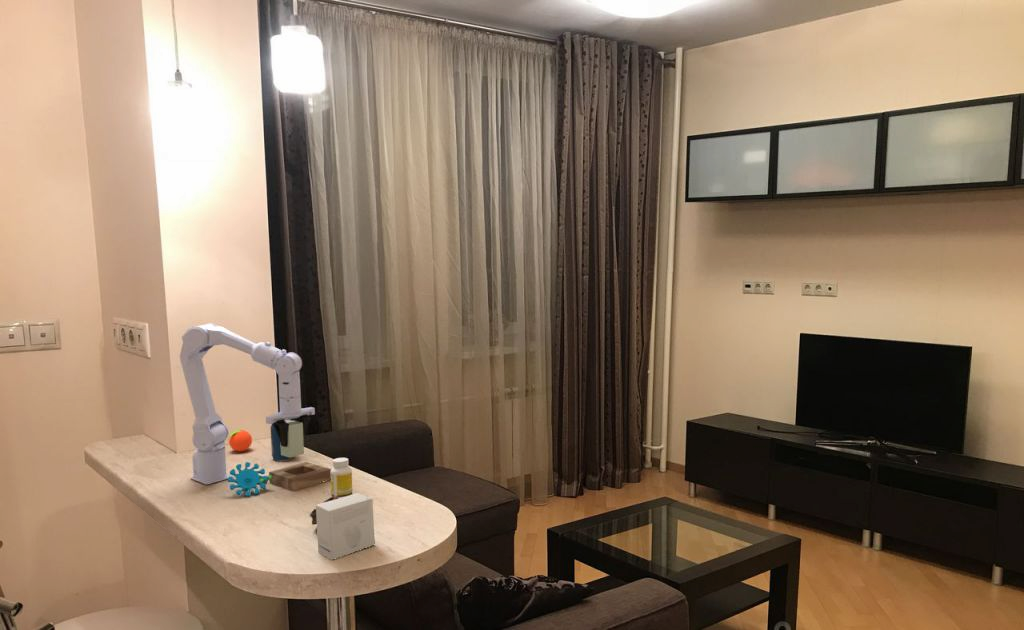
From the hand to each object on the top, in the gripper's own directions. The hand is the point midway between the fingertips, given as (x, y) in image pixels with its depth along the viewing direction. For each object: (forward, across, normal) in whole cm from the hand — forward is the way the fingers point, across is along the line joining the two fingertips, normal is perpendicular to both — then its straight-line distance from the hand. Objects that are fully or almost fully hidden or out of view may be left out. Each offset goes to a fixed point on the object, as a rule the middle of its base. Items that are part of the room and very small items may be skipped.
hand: (292, 444), depth 197 cm
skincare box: (+10, -21, -51) cm, 56 cm away
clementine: (+10, +6, +40) cm, 41 cm away
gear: (+10, -14, -1) cm, 17 cm away
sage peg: (+3, 0, 0) cm, 3 cm away
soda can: (+10, +10, +20) cm, 25 cm away
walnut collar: (+10, 0, -3) cm, 11 cm away
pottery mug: (+10, -15, -40) cm, 43 cm away
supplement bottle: (+10, -1, -23) cm, 26 cm away
